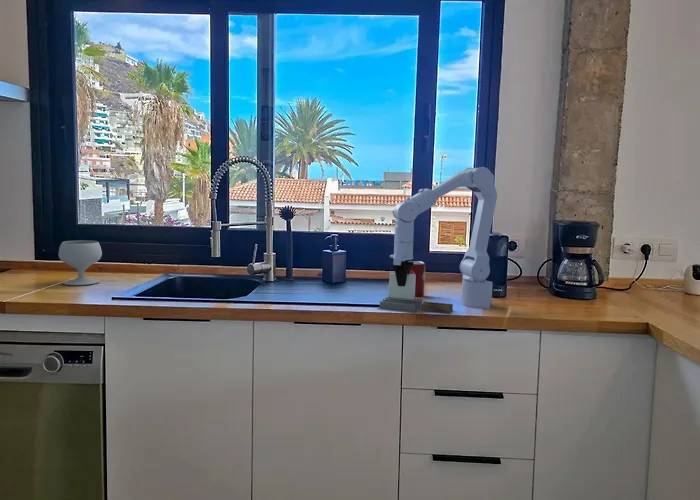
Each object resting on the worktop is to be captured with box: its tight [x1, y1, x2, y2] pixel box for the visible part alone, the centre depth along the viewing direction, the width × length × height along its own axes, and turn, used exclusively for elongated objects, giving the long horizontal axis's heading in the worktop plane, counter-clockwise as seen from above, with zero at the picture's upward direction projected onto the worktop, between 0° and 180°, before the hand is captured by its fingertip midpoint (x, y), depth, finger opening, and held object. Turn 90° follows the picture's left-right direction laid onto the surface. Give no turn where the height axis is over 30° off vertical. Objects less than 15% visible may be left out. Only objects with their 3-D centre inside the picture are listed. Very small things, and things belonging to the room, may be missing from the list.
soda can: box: [408, 260, 426, 298], centre depth 186 cm, size 7×7×12 cm
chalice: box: [58, 239, 103, 286], centre depth 195 cm, size 14×14×15 cm
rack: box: [376, 295, 423, 314], centre depth 168 cm, size 12×13×3 cm
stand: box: [419, 300, 454, 315], centre depth 164 cm, size 9×6×3 cm, turn 70°
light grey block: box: [388, 272, 416, 300], centre depth 167 cm, size 8×1×8 cm, turn 70°
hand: (402, 285), depth 167 cm, fingers closed on light grey block, 1 cm apart
